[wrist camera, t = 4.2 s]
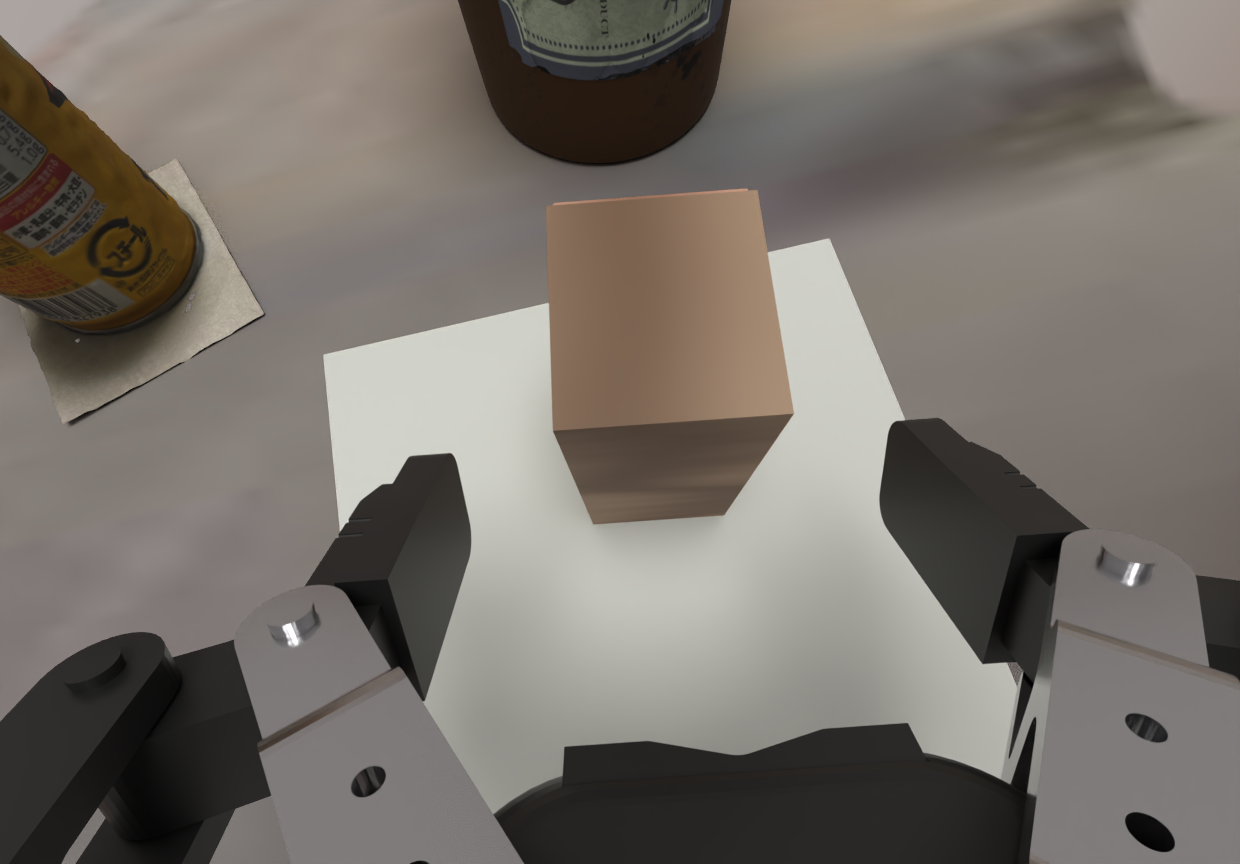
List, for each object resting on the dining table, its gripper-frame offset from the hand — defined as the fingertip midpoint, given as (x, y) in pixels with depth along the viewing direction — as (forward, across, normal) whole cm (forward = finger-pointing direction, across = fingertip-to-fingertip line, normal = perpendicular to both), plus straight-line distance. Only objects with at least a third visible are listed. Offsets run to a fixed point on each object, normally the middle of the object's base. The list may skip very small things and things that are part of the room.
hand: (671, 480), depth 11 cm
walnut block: (+7, 0, +3) cm, 8 cm away
